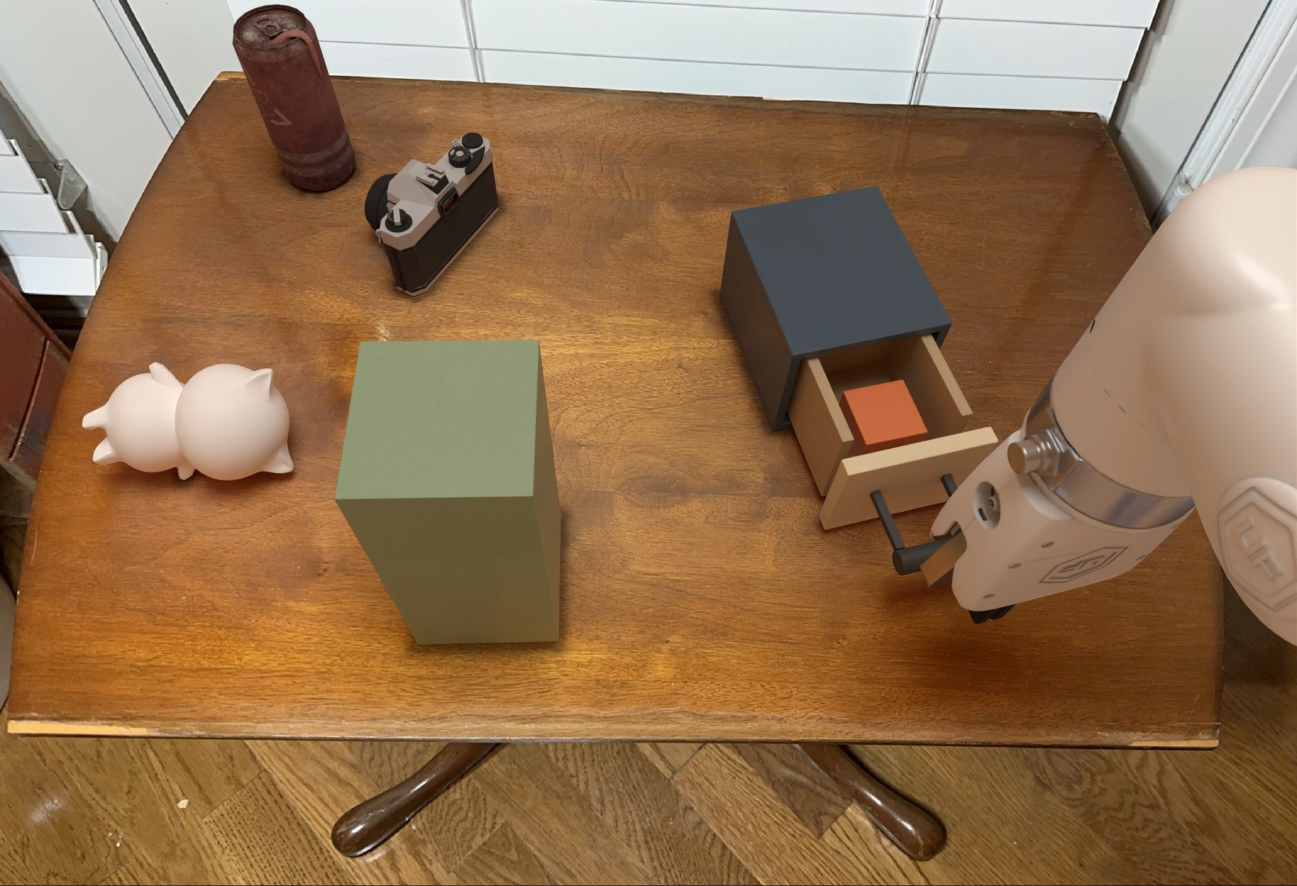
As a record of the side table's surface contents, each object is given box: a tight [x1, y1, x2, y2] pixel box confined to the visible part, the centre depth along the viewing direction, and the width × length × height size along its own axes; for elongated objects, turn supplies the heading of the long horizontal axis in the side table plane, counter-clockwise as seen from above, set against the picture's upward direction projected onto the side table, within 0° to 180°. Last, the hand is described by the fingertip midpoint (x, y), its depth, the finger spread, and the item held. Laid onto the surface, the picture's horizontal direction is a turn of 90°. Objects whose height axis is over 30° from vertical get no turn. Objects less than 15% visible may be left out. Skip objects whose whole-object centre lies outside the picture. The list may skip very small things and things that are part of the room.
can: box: [231, 3, 356, 192], centre depth 75 cm, size 6×6×14 cm
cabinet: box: [719, 185, 953, 432], centre depth 68 cm, size 13×11×9 cm
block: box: [839, 380, 928, 459], centre depth 63 cm, size 4×4×4 cm
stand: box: [334, 339, 562, 646], centre depth 53 cm, size 9×9×20 cm
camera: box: [363, 132, 500, 297], centre depth 73 cm, size 13×8×9 cm, turn 154°
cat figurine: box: [81, 361, 295, 481], centre depth 64 cm, size 9×11×12 cm
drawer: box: [787, 333, 999, 577], centre depth 62 cm, size 18×10×8 cm, turn 15°
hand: (975, 597), depth 54 cm, fingers closed
